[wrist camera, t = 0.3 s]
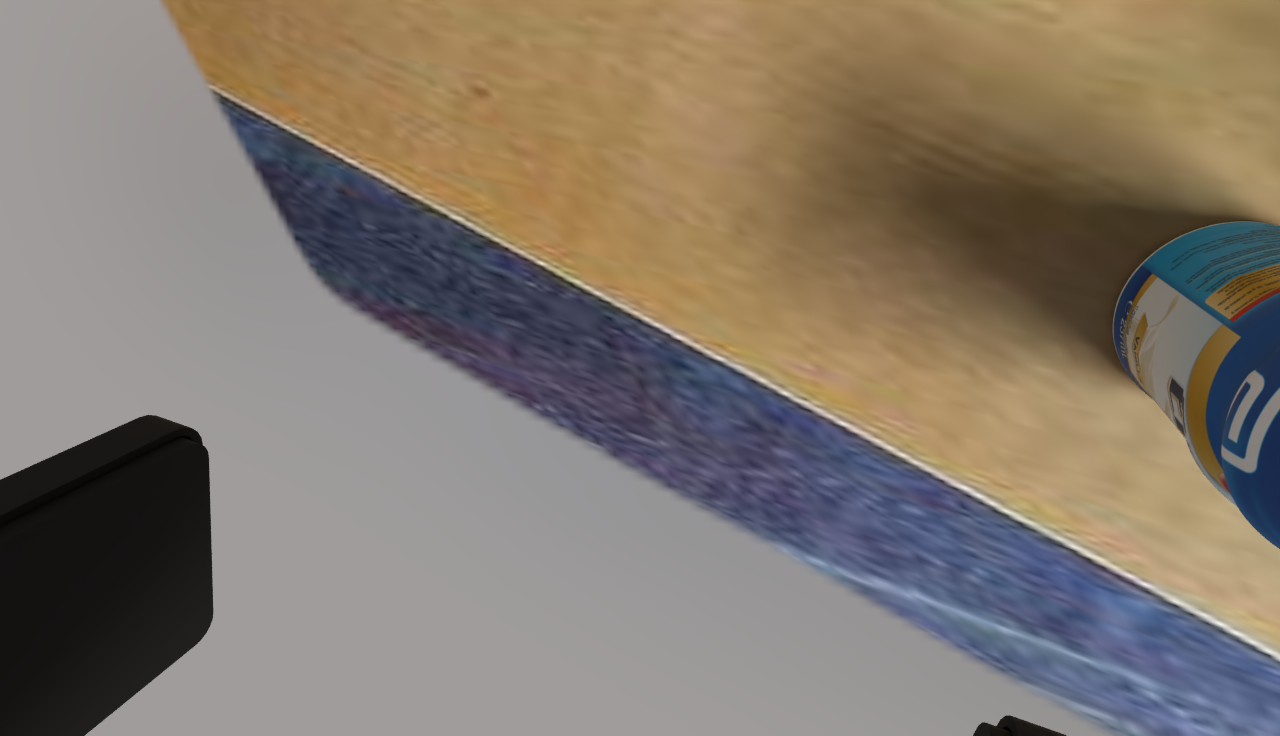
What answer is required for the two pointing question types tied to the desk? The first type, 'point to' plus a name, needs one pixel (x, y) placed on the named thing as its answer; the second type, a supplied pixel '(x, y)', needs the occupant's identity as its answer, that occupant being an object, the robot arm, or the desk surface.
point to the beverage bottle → (1214, 355)
